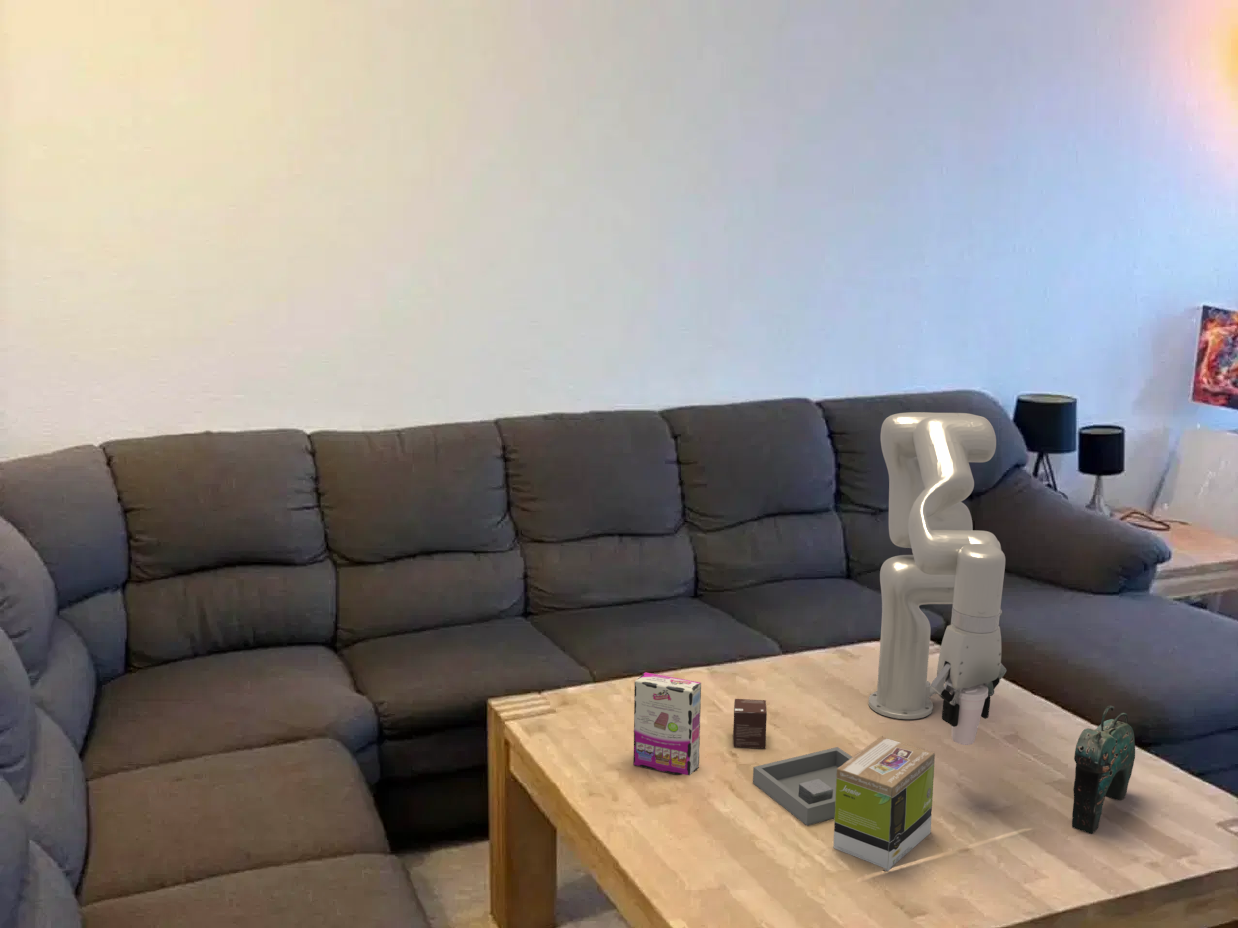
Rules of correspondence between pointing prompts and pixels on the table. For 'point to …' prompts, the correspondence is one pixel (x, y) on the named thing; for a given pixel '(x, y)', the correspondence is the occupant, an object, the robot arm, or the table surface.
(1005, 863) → the table surface
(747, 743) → the box
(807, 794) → the metal block
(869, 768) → the tea box
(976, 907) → the table surface
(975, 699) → the smoothie
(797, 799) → the tray
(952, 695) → the robot arm
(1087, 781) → the green animal figurine
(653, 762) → the candy bar box
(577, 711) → the table surface
